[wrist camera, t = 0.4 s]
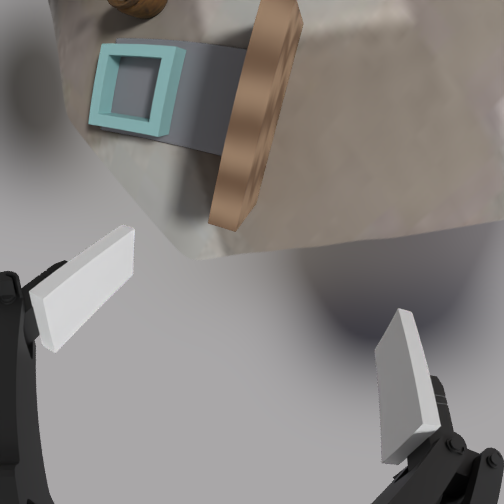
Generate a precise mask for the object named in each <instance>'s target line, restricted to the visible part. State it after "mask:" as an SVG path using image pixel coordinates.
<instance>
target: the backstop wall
mask: <svg viewBox="0 0 504 504" xmlns="http://www.w3.org/2000/svg"><path fill="white" fill-rule="evenodd" d="M302 28H303V20H302V17H301V14H300V10H299V7H298V4H297V0H261V2H260V5H259V9H258V12H257V16H256V19H255V23H254V26H253V30H252V34H251V38H250V41H249V45H248V49H247V53H246V56H245V60H244V64H243V68H242V72H241V76H240V80H239V84H238V88H237V92H236V96H235V101H234V105H233V109H232V113H231V117H230V122H229V126H228V130H227V135H226V139H225V144H224V148H223V153H222V157H221V162H220V167H219V171H218V176H217V181H216V186H215V190H214V195H213V200H212V205H211V210H210V215H209V220H208V223H209V224H212V225H215V226H219V227H222V228H225V229H228V230H231V231H235V232H236V231H237V229H238V228H239V226H240V225H241V224H242V222H243V221H244V220H245V218H246V217H247V215H248V214H249V213H250V211H251V210H252V209H253V207H254V206H255V205H256V202H257V198H258V194H259V190H260V187H261V183H262V179H263V175H264V171H265V167H266V163H267V160H268V156H269V152H270V148H271V144H272V140H273V137H274V133H275V129H276V125H277V121H278V118H279V114H280V110H281V106H282V102H283V99H284V95H285V91H286V87H287V84H288V80H289V76H290V72H291V69H292V65H293V61H294V57H295V54H296V50H297V46H298V42H299V39H300V35H301V31H302Z"/></svg>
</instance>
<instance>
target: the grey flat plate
mask: <svg viewBox="0 0 504 504" xmlns="http://www.w3.org/2000/svg"><path fill="white" fill-rule="evenodd" d="M116 44H146V45H163V46H175V47H179V48H182V49H185V50H186V54H185V58H184V63H183V67H182V71H181V76H180V80H179V85H178V89H177V94H176V99H175V104H174V109H173V114H172V119H171V125H170V130H169V134H168V135H164V136H159V137H156V136H152V135H147V134H142V133H136V132H131V131H126V130H121V129H115V128H109V127H103V126H101V130H105V131H111V132H116V133H122V134H127V135H132V136H137V137H142V138H147V139H151V140H156V141H161V142H165V143H170V144H174V145H179V146H183V147H187V148H192V149H196V150H200V151H204V152H208V153H212V154H216V155H220V156H222V153H223V148H224V144H225V139H226V135H227V130H228V126H229V122H230V117H231V113H232V109H233V105H234V101H235V96H236V92H237V88H238V84H239V80H240V76H241V72H242V68H243V64H244V60H245V56H246V53H247V50H246V49H240V48H234V47H228V46H221V45H213V44H206V43H197V42H187V41H175V40H161V39H137V38H117V39H116ZM161 60H162V59H154V58H141V57H121V59H120V64H119V69H118V74H117V79H116V85H115V90H114V96H113V102H112V109H111V113H117V114H124V115H130V116H136V117H142V118H148V119H150V114H151V108H152V103H153V98H154V93H155V87H156V83H157V78H158V73H159V68H160V64H161Z"/></svg>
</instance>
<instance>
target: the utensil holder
mask: <svg viewBox="0 0 504 504" xmlns="http://www.w3.org/2000/svg"><path fill="white" fill-rule="evenodd" d="M108 2H109V4H110V5H112V6H113V7H115V8H117V9H118V10H119V11H121V12H122V13H125V14H127V15H130V16H133V17H137V18H141V19H147V18H151V17H153V16H155V15H157V14H158V13H160V12H161V11H162V10H163V8H164V7H165V5H166V3H167V0H108Z"/></svg>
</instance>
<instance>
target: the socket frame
mask: <svg viewBox="0 0 504 504" xmlns="http://www.w3.org/2000/svg"><path fill="white" fill-rule="evenodd" d="M185 54H186V50H185V49H182V48H179V47H175V46H163V45H146V44H102V46H101V51H100V55H99V60H98V65H97V71H96V76H95V82H94V88H93V94H92V101H91V108H90V115H89V123H88V124H91V125H98V126H103V127H109V128H115V129H121V130H126V131H131V132H136V133H142V134H147V135H152V136H156V137H159V136H164V135H168V134H169V130H170V125H171V119H172V114H173V109H174V104H175V99H176V94H177V89H178V85H179V80H180V76H181V71H182V67H183V63H184V58H185ZM121 57H141V58H154V59H162V60H161V64H160V68H159V73H158V78H157V83H156V87H155V93H154V98H153V103H152V108H151V114H150V119H148V118H142V117H136V116H130V115H124V114H117V113H111V109H112V102H113V96H114V90H115V85H116V79H117V74H118V69H119V64H120V59H121Z"/></svg>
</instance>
